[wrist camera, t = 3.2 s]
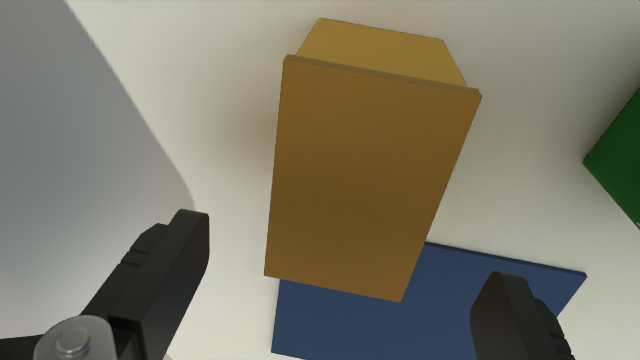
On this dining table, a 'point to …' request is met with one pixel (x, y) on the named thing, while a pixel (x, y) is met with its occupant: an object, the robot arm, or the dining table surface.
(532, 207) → the dining table surface
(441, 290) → the cloth
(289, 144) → the container
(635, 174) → the milk carton
